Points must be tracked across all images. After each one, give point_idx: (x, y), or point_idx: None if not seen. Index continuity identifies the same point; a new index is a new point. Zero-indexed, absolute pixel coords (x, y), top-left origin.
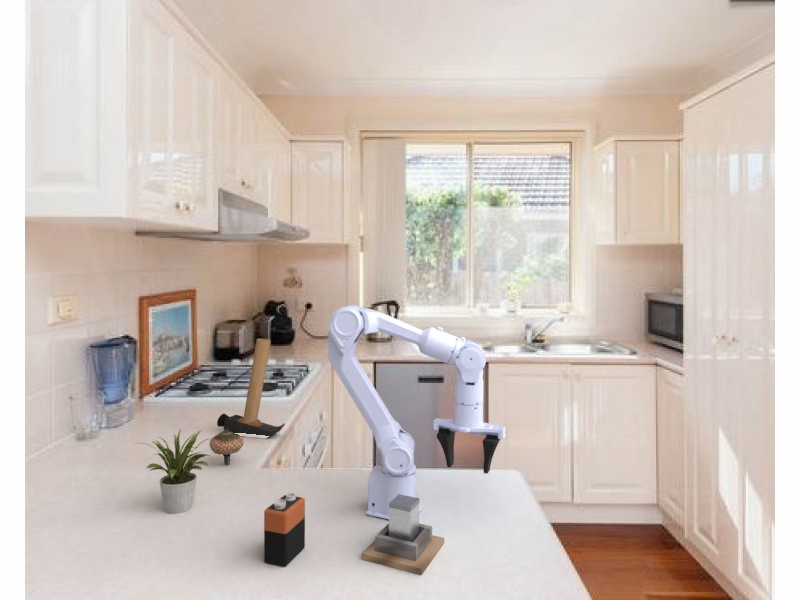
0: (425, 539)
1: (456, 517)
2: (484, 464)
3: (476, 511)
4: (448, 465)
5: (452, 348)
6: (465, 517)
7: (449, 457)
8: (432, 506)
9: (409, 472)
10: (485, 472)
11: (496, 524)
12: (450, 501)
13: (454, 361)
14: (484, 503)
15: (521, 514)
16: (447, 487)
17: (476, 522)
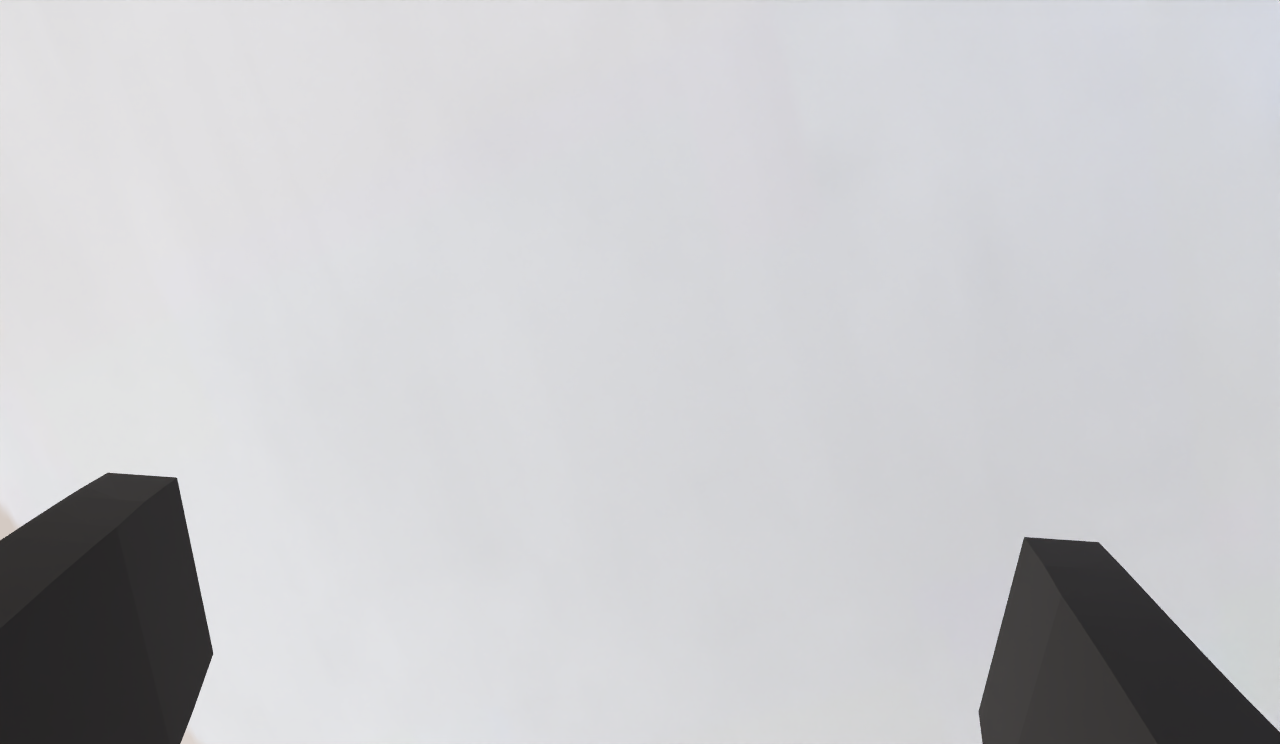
0: None
1: (779, 66)
2: (21, 592)
3: (584, 315)
4: (1082, 559)
5: None
6: (667, 113)
7: (1117, 714)
8: (1158, 246)
9: None
10: (121, 482)
11: (255, 82)
12: (947, 444)
13: None
14: (557, 520)
15: (114, 418)
16: None
17: (495, 33)
